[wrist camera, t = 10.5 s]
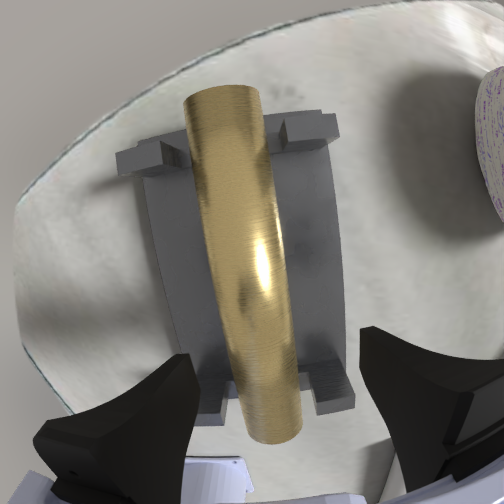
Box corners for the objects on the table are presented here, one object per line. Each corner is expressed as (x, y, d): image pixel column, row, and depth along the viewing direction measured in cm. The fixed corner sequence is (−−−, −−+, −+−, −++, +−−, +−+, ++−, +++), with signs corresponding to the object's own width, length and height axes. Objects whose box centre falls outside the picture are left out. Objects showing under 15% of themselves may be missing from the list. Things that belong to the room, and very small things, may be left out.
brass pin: (297, 402, 20) (307, 438, 16) (246, 410, 20) (247, 447, 16) (257, 104, 16) (261, 80, 12) (190, 115, 16) (176, 94, 12)
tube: (407, 519, 25) (451, 440, 20) (381, 536, 24) (417, 469, 18) (391, 502, 30) (422, 418, 25) (365, 517, 29) (388, 442, 23)
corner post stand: (200, 389, 23) (186, 438, 17) (145, 144, 18) (104, 130, 13) (341, 372, 22) (360, 419, 16) (316, 115, 18) (339, 87, 12)
